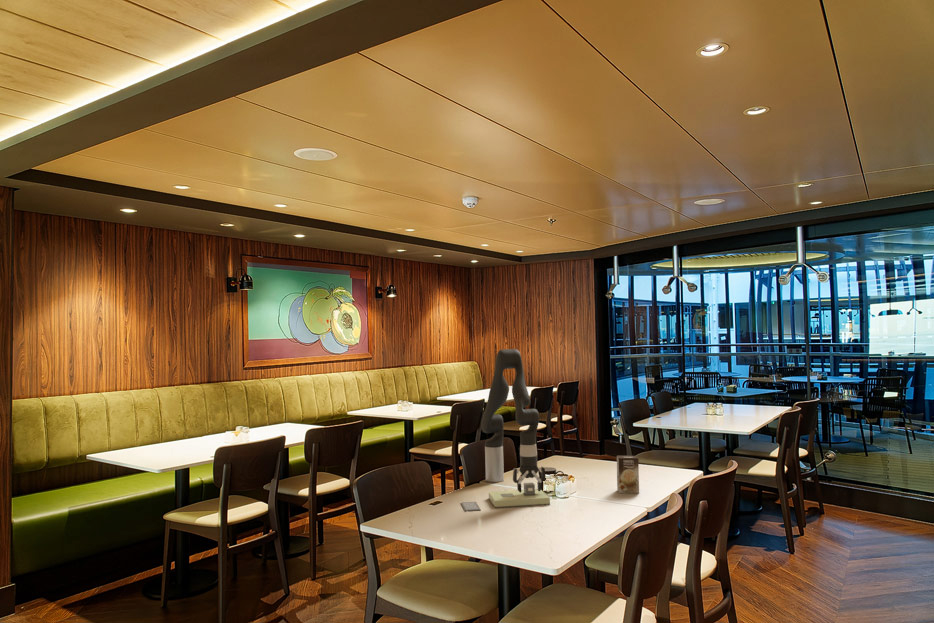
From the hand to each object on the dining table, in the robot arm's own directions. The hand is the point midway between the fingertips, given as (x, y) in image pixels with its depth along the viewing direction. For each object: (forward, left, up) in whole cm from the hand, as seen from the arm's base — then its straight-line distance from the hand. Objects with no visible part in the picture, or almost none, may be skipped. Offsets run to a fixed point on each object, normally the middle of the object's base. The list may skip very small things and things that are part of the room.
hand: (529, 491), depth 265 cm
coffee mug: (-16, +14, -4) cm, 22 cm away
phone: (+4, -27, -5) cm, 28 cm away
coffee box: (-6, +48, -4) cm, 49 cm away
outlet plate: (0, -5, -4) cm, 6 cm away
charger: (0, 0, -4) cm, 4 cm away
